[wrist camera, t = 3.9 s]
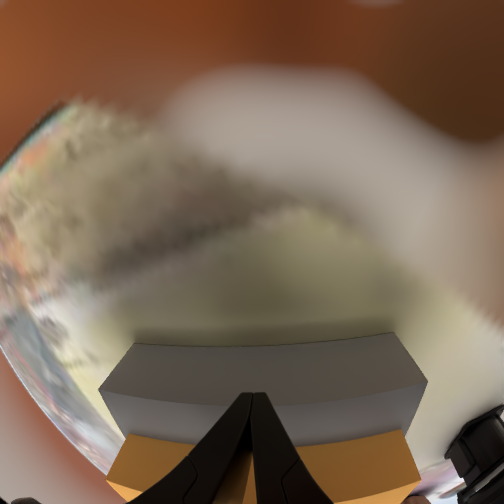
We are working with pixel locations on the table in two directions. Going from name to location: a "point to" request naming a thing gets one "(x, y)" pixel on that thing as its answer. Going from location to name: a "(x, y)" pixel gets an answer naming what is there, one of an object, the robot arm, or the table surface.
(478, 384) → the table surface
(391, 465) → the orange bar
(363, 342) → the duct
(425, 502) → the cupcake
